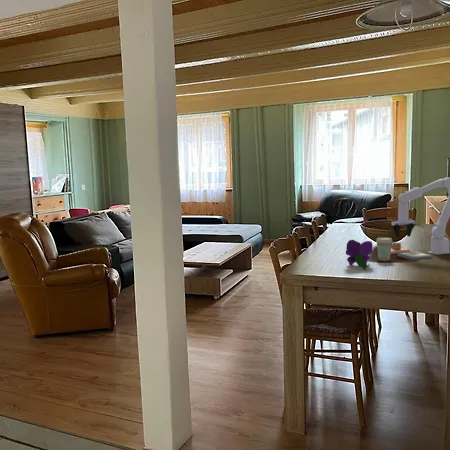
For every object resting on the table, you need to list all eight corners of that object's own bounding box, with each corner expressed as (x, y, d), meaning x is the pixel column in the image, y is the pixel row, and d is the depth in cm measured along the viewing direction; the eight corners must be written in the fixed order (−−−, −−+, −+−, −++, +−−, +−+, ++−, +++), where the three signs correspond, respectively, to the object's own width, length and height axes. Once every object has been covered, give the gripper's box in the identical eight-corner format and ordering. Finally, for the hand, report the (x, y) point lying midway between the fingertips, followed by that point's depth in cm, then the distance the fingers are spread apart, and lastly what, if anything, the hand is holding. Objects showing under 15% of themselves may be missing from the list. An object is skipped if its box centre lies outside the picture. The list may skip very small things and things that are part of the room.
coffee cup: (391, 258, 259) (391, 237, 257) (392, 261, 251) (393, 239, 249) (375, 258, 261) (375, 237, 260) (376, 261, 253) (376, 239, 252)
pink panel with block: (401, 249, 282) (401, 240, 282) (410, 252, 275) (410, 242, 274) (382, 251, 279) (383, 242, 278) (390, 253, 271) (391, 244, 271)
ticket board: (417, 254, 268) (417, 251, 268) (431, 258, 257) (431, 255, 257) (397, 256, 265) (397, 253, 265) (411, 259, 253) (411, 257, 253)
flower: (377, 277, 238) (369, 261, 249) (382, 255, 229) (374, 238, 240) (349, 279, 237) (342, 262, 248) (353, 256, 229) (346, 239, 240)
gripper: (409, 212, 278) (409, 234, 279) (388, 213, 274) (388, 236, 276) (417, 213, 271) (417, 236, 273) (395, 215, 267) (395, 238, 269)
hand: (403, 236), depth 274 cm, fingers open, 7 cm apart
